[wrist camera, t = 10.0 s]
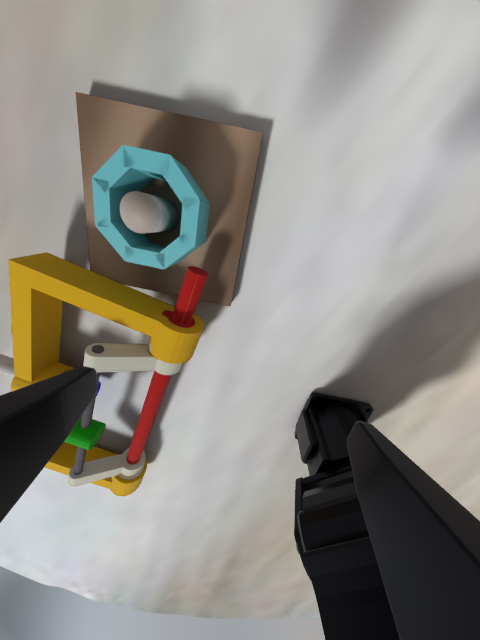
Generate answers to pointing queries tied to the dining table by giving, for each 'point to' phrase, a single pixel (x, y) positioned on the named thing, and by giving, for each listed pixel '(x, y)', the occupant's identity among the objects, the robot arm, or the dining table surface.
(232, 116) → the dining table surface
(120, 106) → the post stand
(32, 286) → the yellow jointed frame
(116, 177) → the ring
